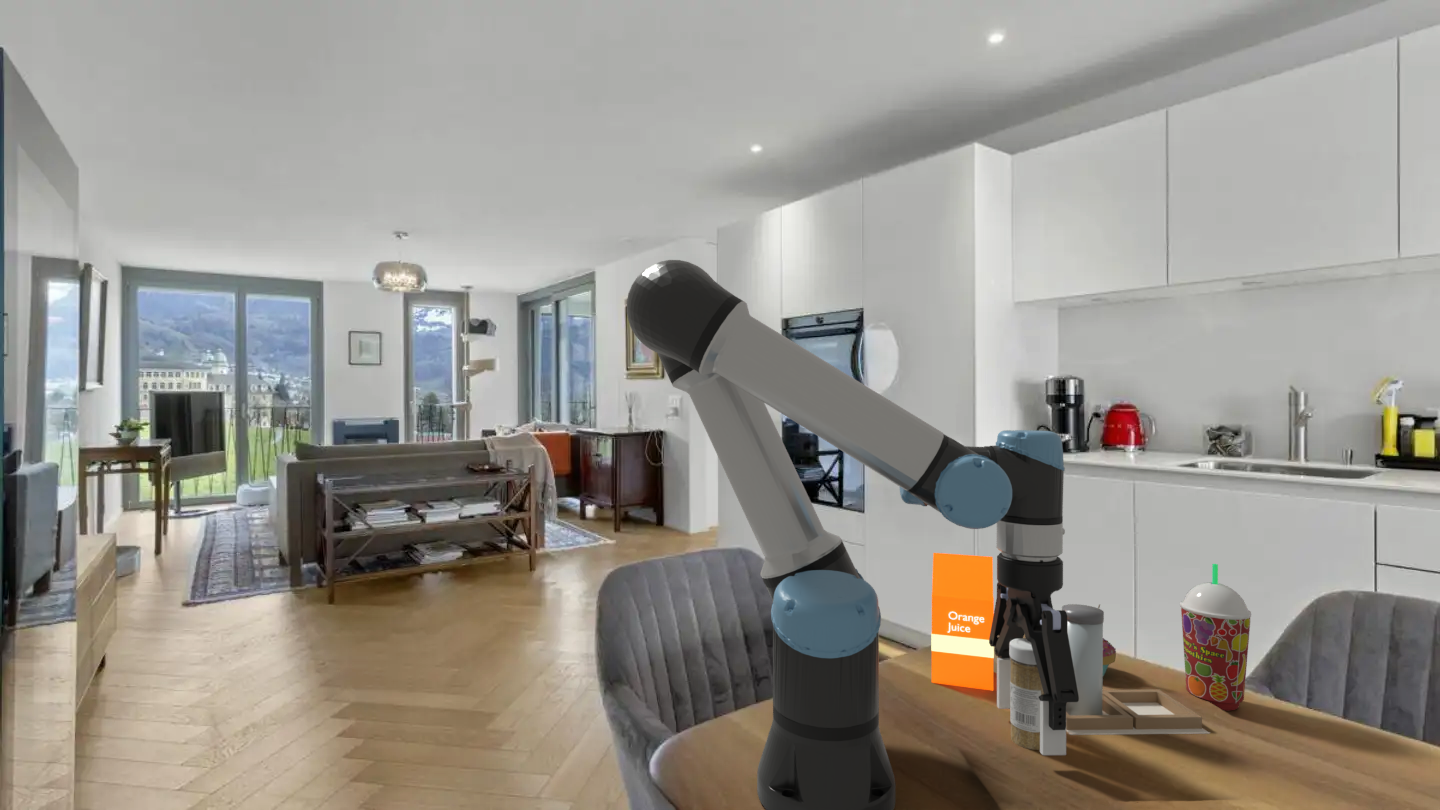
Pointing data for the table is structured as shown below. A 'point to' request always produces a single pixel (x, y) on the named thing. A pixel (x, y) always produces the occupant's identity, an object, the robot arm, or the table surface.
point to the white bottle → (1086, 657)
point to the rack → (1137, 715)
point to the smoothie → (1215, 643)
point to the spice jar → (1024, 695)
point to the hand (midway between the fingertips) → (1028, 729)
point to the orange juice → (962, 620)
